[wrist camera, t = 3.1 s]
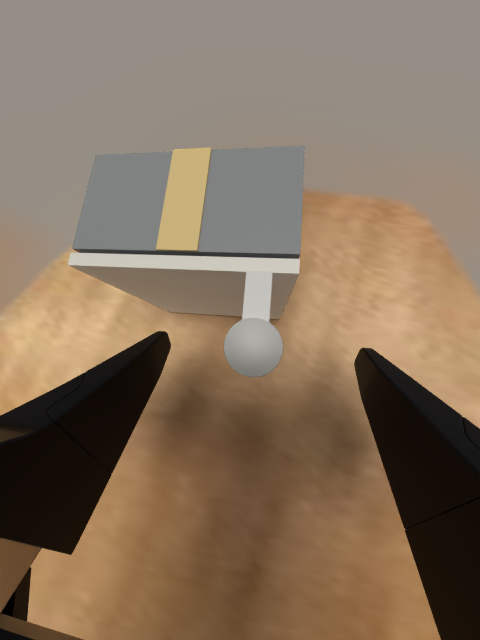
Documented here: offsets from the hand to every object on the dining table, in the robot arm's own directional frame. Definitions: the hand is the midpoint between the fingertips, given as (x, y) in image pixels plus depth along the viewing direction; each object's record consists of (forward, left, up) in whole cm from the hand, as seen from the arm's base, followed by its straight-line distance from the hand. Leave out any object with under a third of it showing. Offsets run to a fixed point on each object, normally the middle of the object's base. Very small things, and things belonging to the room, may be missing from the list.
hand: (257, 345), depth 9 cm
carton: (+7, -1, -8) cm, 11 cm away
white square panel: (+3, +2, -7) cm, 8 cm away
